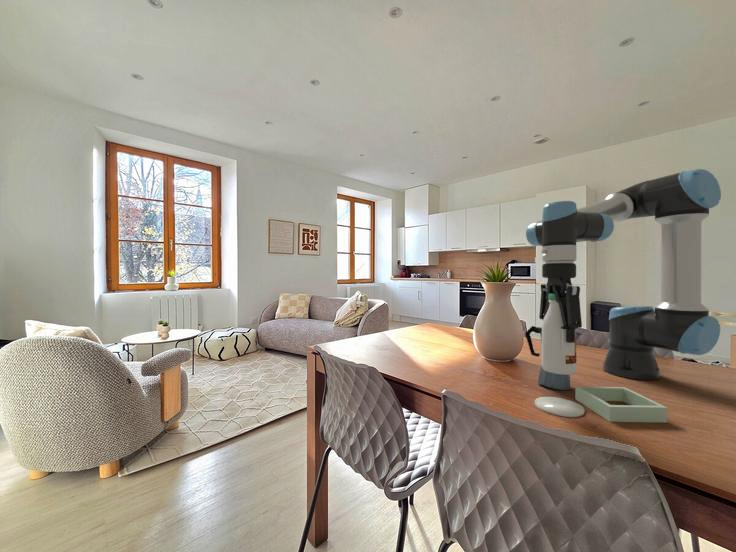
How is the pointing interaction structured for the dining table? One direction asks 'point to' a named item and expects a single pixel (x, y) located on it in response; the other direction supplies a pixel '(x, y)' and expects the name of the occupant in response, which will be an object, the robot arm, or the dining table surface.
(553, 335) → the milk bottle
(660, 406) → the green square tray
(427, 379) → the dining table surface
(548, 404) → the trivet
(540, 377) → the moka pot
